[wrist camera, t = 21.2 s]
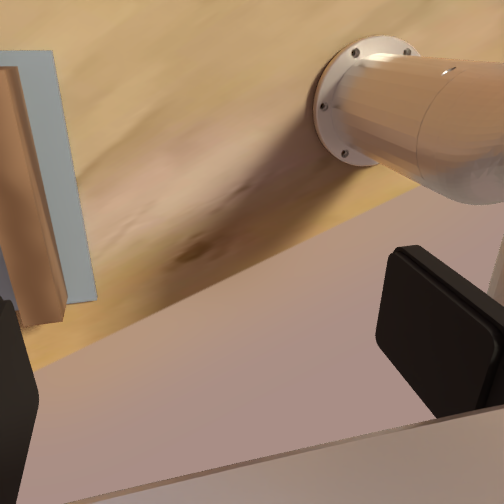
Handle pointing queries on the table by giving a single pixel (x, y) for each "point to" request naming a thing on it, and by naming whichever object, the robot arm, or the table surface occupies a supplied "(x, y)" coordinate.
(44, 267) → the wooden beam
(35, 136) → the rubber mat
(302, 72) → the table surface
